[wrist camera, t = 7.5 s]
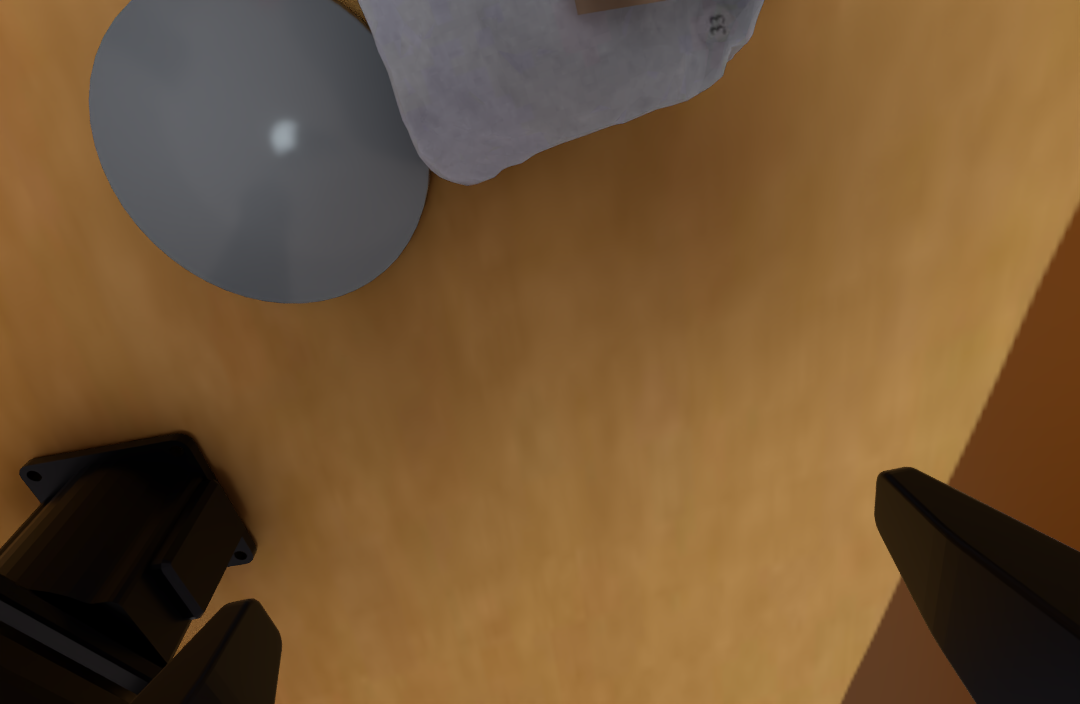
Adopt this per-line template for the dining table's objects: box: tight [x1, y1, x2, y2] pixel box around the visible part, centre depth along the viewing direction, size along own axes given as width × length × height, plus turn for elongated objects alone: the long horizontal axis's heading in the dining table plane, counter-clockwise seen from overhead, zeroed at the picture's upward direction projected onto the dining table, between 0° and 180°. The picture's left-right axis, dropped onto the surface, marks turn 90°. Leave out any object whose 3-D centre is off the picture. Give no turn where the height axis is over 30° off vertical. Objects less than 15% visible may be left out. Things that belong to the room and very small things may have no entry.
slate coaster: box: [89, 0, 430, 303], centre depth 18 cm, size 9×9×1 cm
